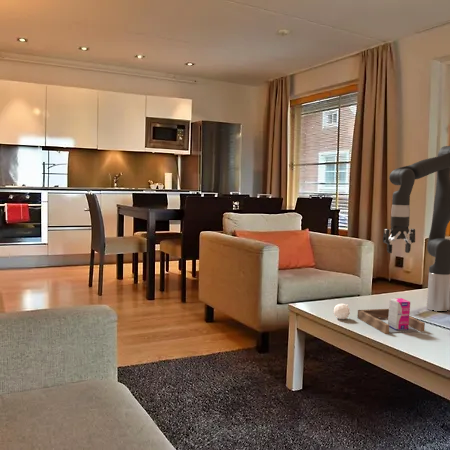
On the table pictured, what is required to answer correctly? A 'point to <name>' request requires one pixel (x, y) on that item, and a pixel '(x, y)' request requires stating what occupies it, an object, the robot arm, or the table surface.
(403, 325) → the supplement box
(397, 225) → the robot arm
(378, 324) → the shallow wooden tray
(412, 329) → the loading mat
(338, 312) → the ornament
